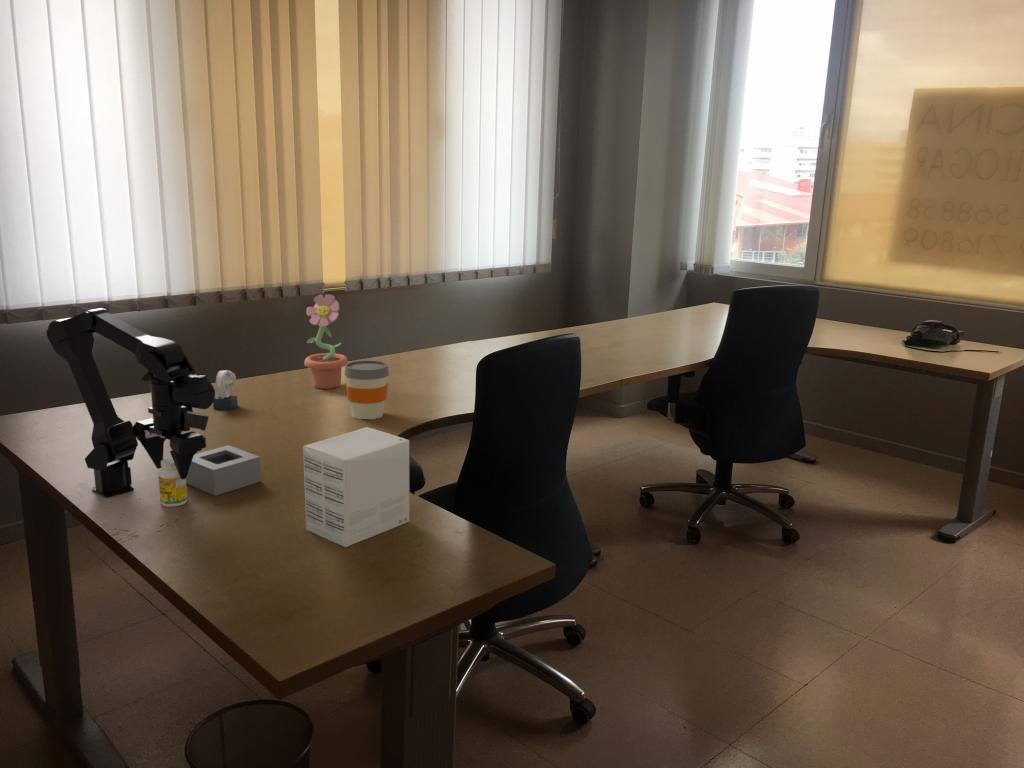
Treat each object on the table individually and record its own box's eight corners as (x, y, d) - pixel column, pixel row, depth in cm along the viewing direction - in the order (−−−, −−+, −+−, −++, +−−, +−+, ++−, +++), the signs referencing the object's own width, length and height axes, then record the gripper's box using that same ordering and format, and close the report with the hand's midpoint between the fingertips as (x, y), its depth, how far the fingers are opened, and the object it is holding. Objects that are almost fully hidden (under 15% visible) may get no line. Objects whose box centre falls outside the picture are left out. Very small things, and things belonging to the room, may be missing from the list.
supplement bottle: (192, 501, 189) (190, 459, 186) (172, 509, 184) (169, 466, 182) (175, 496, 191) (172, 454, 189) (155, 504, 187) (151, 461, 184)
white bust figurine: (239, 403, 262) (238, 368, 260) (229, 411, 255) (227, 374, 252) (221, 403, 263) (219, 367, 260) (210, 410, 255) (208, 373, 252)
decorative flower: (293, 389, 281) (290, 296, 273) (315, 379, 293) (312, 290, 286) (335, 393, 277) (333, 299, 269) (355, 383, 289) (354, 293, 282)
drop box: (215, 495, 192) (213, 470, 191) (184, 482, 199) (182, 457, 198) (260, 481, 201) (259, 456, 200) (229, 469, 208) (228, 445, 207)
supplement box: (368, 505, 189) (367, 425, 185) (411, 522, 181) (411, 439, 177) (303, 529, 176) (300, 444, 172) (346, 549, 168) (344, 460, 164)
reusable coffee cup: (393, 410, 260) (393, 361, 257) (383, 422, 248) (382, 371, 244) (352, 408, 261) (351, 359, 258) (340, 420, 249) (338, 368, 246)
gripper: (226, 403, 183) (230, 474, 187) (177, 387, 194) (181, 454, 198) (178, 414, 174) (183, 488, 178) (129, 397, 185) (134, 466, 189)
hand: (171, 473), depth 186 cm, fingers open, 9 cm apart
